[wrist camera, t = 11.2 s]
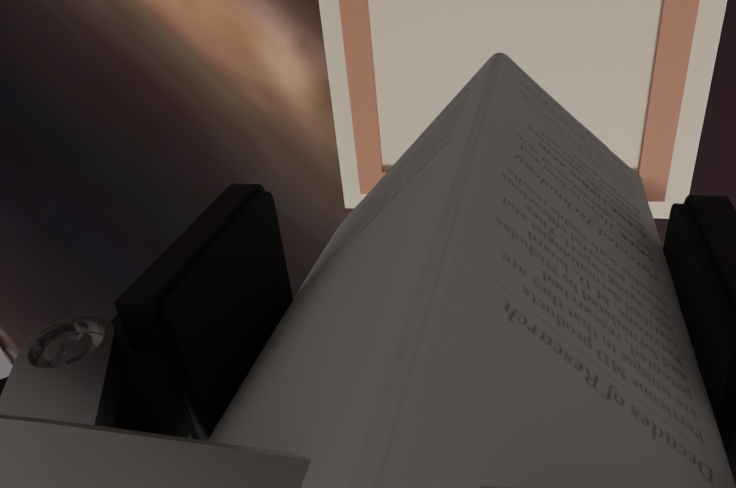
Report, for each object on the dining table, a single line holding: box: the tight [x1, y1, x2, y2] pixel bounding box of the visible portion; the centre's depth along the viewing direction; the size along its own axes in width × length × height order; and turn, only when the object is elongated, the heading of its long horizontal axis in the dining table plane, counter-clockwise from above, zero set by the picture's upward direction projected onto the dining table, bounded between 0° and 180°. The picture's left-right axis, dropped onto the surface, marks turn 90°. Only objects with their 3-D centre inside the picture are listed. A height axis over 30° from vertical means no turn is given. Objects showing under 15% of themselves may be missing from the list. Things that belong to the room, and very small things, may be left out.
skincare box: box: [207, 53, 736, 488], centre depth 9 cm, size 6×4×12 cm
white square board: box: [319, 0, 727, 219], centre depth 25 cm, size 16×16×1 cm
